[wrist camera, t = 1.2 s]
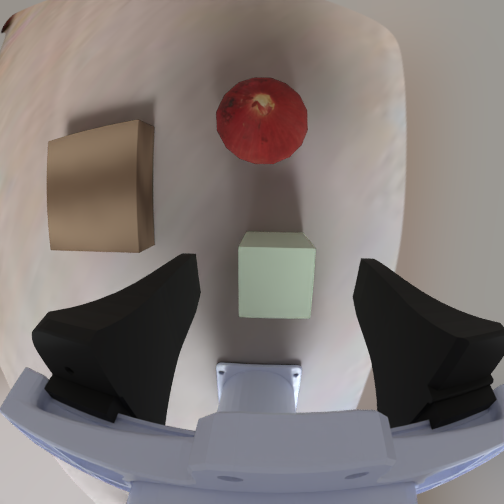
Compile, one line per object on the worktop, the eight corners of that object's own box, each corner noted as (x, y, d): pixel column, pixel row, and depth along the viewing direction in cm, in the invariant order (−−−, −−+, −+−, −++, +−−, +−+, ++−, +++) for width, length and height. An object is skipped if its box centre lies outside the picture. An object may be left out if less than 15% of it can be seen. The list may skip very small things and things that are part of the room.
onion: (214, 153, 20) (183, 132, 12) (242, 90, 19) (228, 41, 11) (284, 179, 20) (294, 172, 12) (311, 115, 19) (333, 75, 11)
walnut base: (154, 244, 22) (139, 252, 19) (69, 243, 22) (50, 250, 20) (154, 127, 20) (138, 119, 17) (67, 144, 20) (48, 141, 17)
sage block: (300, 285, 22) (310, 318, 16) (246, 284, 22) (238, 317, 16) (303, 232, 21) (315, 248, 15) (246, 231, 21) (238, 246, 15)
